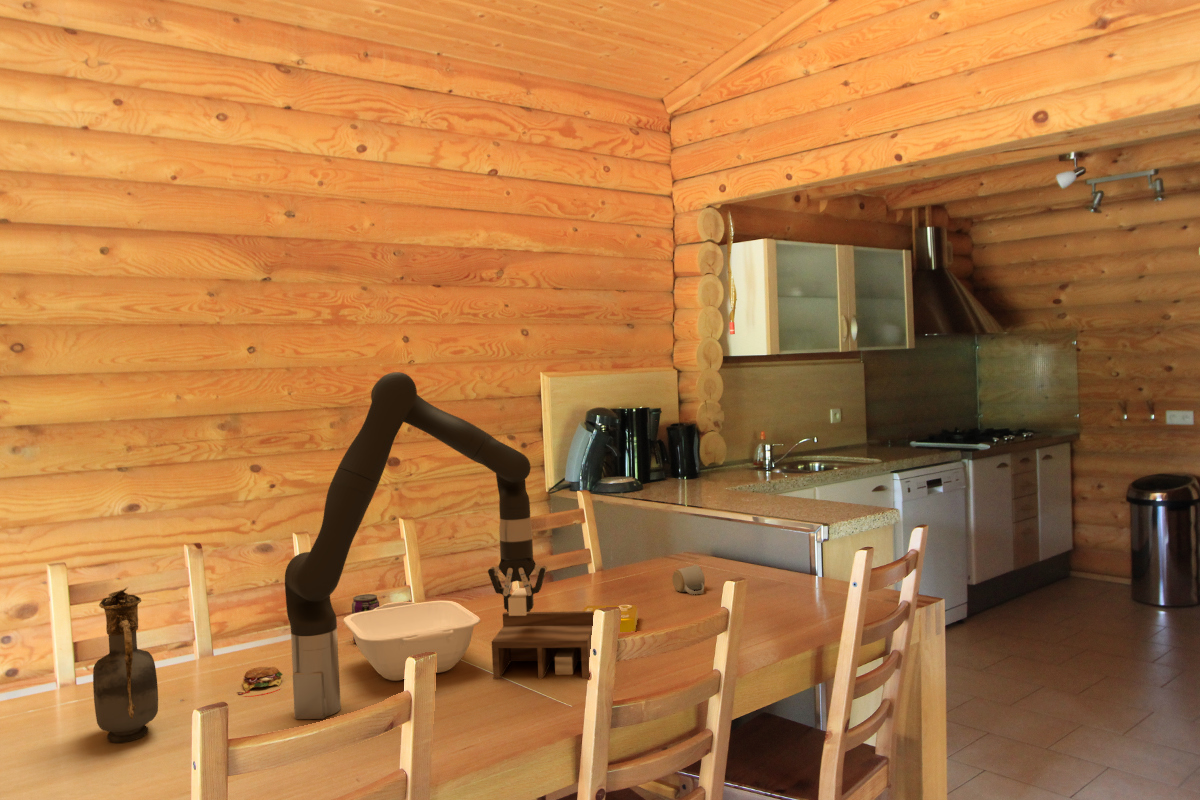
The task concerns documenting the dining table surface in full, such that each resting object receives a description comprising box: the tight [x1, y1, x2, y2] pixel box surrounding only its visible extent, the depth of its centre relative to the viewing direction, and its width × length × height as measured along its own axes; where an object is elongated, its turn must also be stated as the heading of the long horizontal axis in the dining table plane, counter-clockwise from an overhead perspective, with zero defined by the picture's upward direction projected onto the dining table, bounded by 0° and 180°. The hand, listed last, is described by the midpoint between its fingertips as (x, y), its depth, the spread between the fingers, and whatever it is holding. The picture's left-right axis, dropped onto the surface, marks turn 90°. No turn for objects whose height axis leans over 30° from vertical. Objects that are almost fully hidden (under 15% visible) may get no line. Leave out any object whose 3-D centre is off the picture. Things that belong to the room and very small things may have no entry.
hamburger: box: [236, 666, 283, 698], centre depth 206 cm, size 14×14×6 cm
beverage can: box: [351, 593, 380, 643], centre depth 238 cm, size 7×7×12 cm
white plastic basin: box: [343, 600, 481, 682], centre depth 213 cm, size 34×28×13 cm
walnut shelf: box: [491, 610, 594, 680], centre depth 210 cm, size 14×22×12 cm, turn 84°
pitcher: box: [92, 586, 159, 744], centre depth 177 cm, size 11×19×30 cm, turn 33°
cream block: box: [508, 587, 535, 616], centre depth 210 cm, size 10×4×4 cm, turn 174°
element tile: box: [582, 604, 639, 632], centre depth 244 cm, size 15×15×5 cm
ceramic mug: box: [671, 564, 706, 596], centre depth 279 cm, size 11×8×8 cm
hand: (519, 610), depth 207 cm, fingers closed on cream block, 4 cm apart
